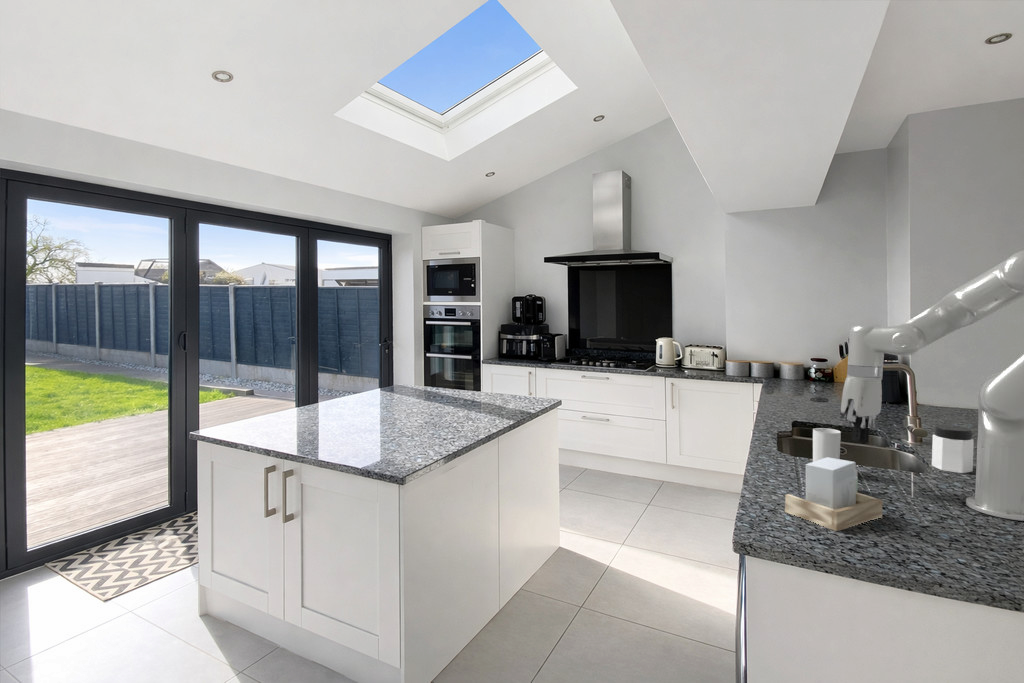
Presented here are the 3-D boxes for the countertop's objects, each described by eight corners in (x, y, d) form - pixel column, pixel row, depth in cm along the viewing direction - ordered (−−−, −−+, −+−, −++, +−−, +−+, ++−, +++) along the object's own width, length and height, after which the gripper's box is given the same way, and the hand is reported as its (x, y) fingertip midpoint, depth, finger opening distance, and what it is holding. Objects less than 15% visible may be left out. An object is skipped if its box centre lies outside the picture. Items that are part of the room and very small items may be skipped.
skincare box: (825, 499, 119) (826, 455, 119) (856, 508, 114) (857, 462, 113) (803, 509, 113) (804, 462, 113) (834, 518, 108) (835, 470, 108)
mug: (831, 477, 139) (832, 434, 138) (807, 471, 145) (807, 429, 144) (850, 471, 144) (851, 430, 144) (826, 465, 150) (827, 425, 149)
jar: (979, 474, 141) (980, 432, 141) (946, 472, 143) (947, 430, 142) (957, 465, 150) (958, 425, 150) (926, 463, 152) (927, 424, 151)
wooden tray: (882, 518, 111) (882, 500, 111) (836, 531, 104) (836, 512, 104) (829, 500, 121) (829, 484, 121) (784, 511, 114) (785, 494, 114)
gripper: (866, 369, 137) (862, 436, 138) (831, 371, 131) (827, 441, 132) (897, 373, 131) (892, 442, 132) (862, 375, 124) (857, 448, 125)
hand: (860, 441), depth 132 cm, fingers closed
